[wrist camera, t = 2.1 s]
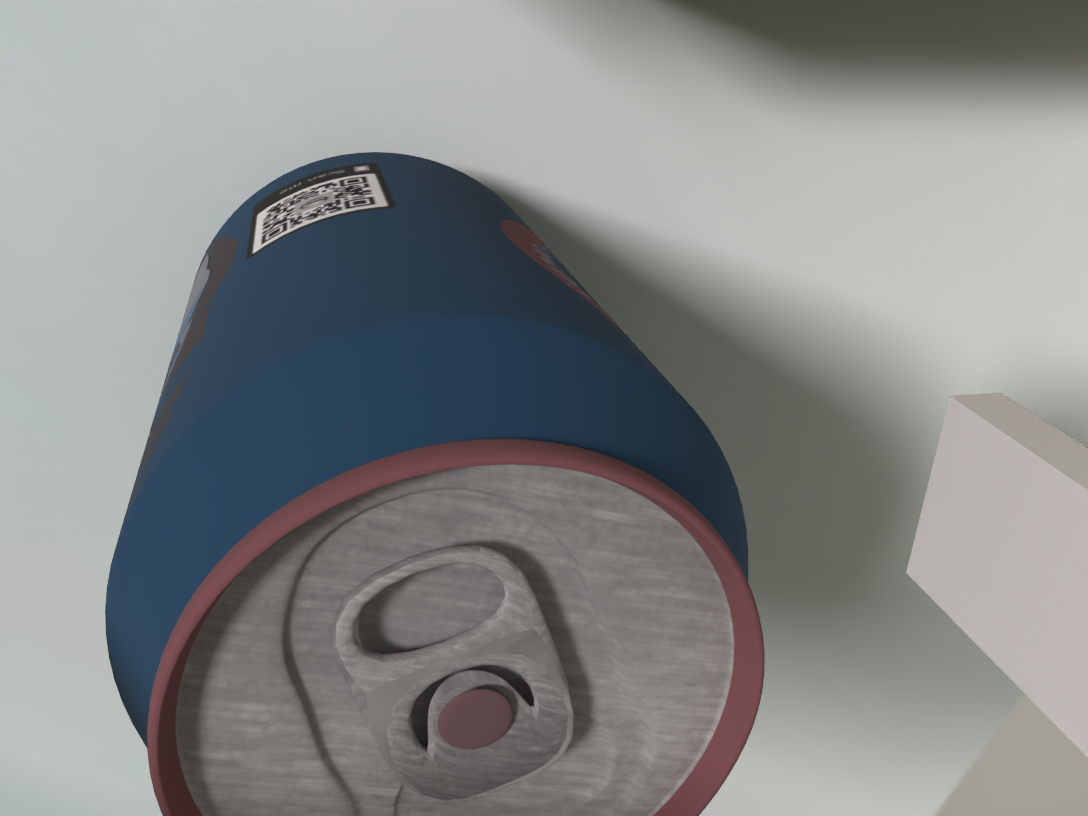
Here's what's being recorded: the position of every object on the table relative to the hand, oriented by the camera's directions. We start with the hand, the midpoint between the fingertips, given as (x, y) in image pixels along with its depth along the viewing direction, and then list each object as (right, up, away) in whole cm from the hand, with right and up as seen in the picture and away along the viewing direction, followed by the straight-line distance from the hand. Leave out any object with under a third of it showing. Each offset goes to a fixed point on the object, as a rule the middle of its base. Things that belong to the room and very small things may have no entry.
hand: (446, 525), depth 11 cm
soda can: (-2, +3, +8) cm, 9 cm away
